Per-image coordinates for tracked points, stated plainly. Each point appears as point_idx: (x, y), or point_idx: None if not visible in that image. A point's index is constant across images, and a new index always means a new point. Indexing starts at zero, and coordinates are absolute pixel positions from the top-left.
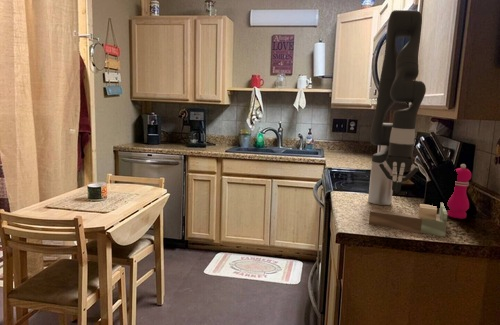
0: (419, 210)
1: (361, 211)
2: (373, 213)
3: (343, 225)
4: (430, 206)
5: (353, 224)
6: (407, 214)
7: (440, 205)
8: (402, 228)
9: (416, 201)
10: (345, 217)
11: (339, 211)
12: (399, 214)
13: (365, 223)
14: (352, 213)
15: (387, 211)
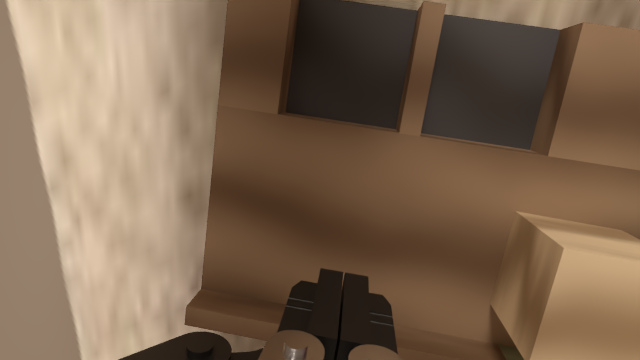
0: (527, 294)
1: (166, 15)
2: (209, 324)
3: (95, 341)
4: (636, 309)
5: (139, 309)
6: (455, 147)
7: None
8: None
9: None
10: (86, 198)
11: (36, 80)
12: (396, 170)
13: (198, 272)
14: (115, 93)
15: (319, 121)
